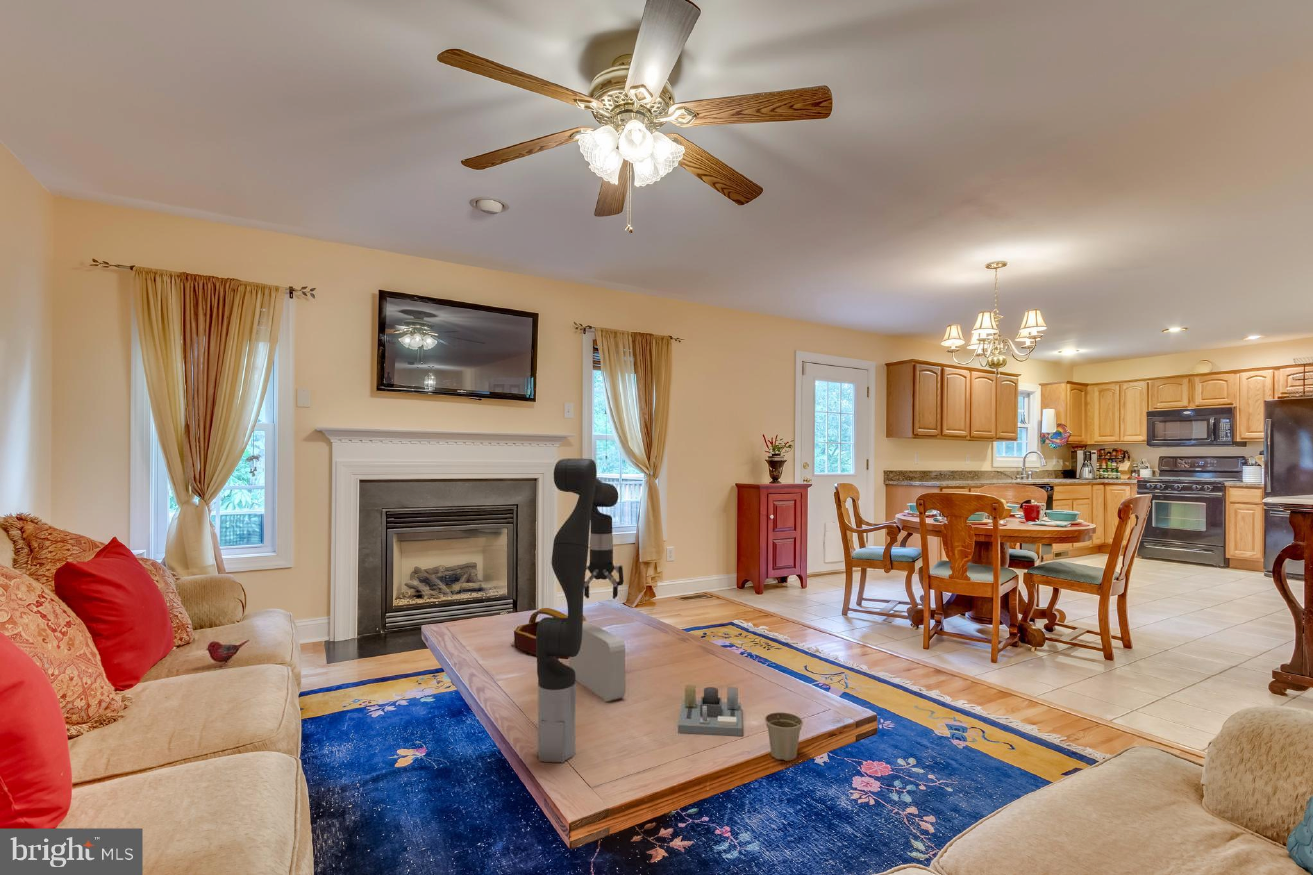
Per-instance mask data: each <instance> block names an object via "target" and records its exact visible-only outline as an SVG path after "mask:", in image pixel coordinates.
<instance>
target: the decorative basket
mask: <svg viewBox="0 0 1313 875" xmlns="http://www.w3.org/2000/svg"><path fill="white" fill-rule="evenodd" d="M539 615H546V616H549V617H555V618H568V614H565V613H563V612H562V611H559V610H557V609H554V608H550V607H544V608H540V609H538V610H536V611H535V612H532V614H531V615H530V617H529V619H528V623H525V624H521V625H518V626H517V627H515V629H514V630H513V638H514V647H515V648H517V649H519V650H522V651H525V652H527V653H530V654H533V655H535V656H537V652H536V632H537V627H538V624H539V622H540V621H541V620H538V621H537V619H538V618H537V617H538V616H539ZM584 621H587V619H586V617H585V616H584V615H583V622H584ZM555 657H556V658H557V659H558V660H559V659H562V660H569V657H558V656H555Z"/></svg>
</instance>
